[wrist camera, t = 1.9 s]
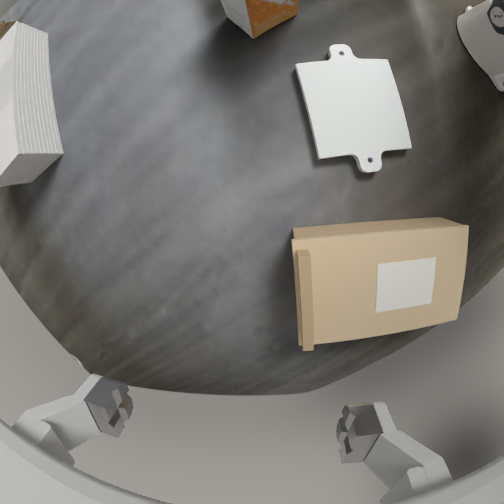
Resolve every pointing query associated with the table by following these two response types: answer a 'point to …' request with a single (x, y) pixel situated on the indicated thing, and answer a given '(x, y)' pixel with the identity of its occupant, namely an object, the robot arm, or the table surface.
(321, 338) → the lid
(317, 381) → the table surface
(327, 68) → the mounting plate
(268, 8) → the small box
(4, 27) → the banker's lamp
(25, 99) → the stack of papers
